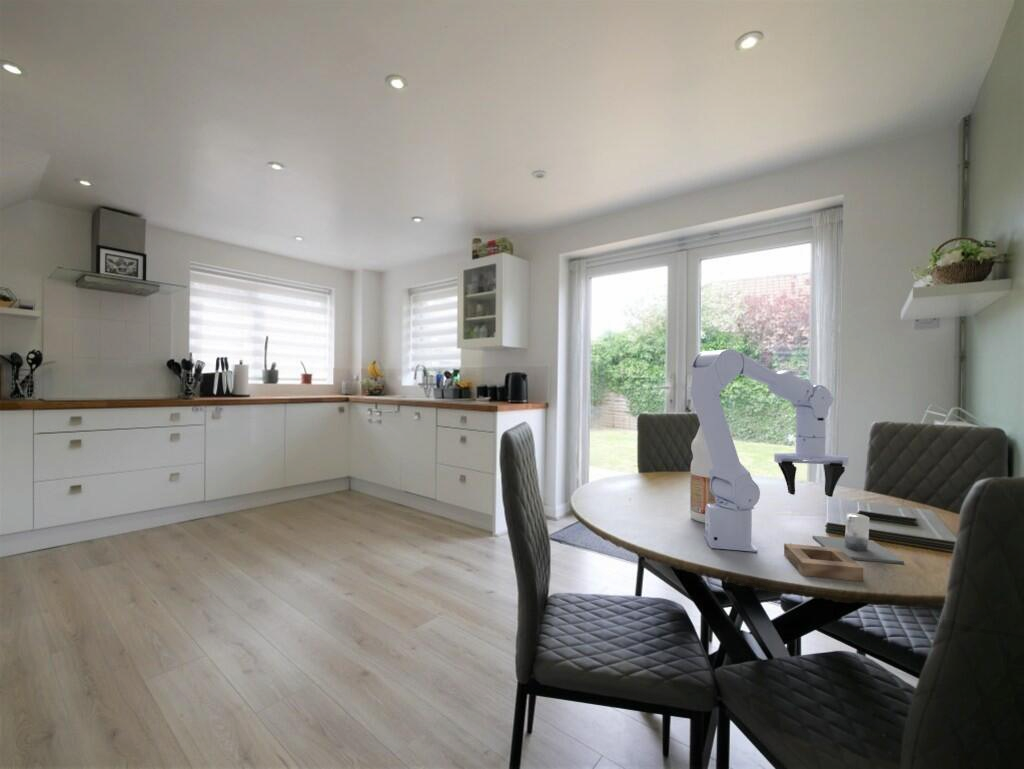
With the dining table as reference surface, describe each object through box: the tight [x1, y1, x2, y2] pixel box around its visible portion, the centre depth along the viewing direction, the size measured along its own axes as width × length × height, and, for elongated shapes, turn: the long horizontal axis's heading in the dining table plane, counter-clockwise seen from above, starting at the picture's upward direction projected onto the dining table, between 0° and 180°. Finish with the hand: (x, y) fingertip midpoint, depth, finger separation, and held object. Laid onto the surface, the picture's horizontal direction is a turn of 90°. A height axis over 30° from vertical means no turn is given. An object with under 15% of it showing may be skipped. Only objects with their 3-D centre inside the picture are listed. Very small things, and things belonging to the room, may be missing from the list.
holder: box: [783, 543, 864, 582], centre depth 89 cm, size 10×10×2 cm
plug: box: [844, 512, 870, 552], centre depth 97 cm, size 4×4×7 cm
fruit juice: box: [689, 424, 716, 524], centre depth 119 cm, size 9×9×28 cm
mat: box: [812, 535, 905, 565], centre depth 98 cm, size 12×12×1 cm
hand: (809, 494), depth 104 cm, fingers open, 7 cm apart
